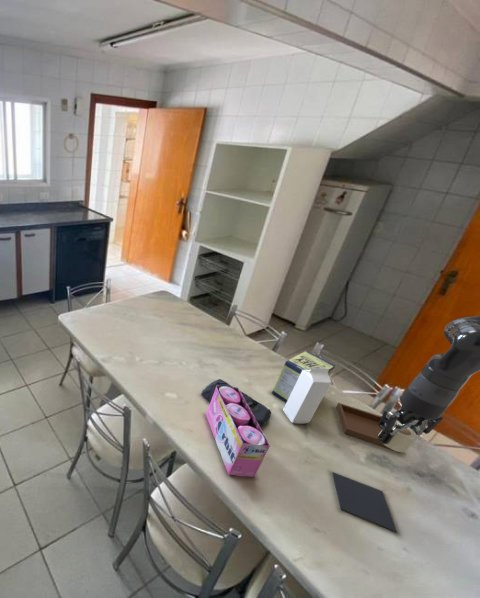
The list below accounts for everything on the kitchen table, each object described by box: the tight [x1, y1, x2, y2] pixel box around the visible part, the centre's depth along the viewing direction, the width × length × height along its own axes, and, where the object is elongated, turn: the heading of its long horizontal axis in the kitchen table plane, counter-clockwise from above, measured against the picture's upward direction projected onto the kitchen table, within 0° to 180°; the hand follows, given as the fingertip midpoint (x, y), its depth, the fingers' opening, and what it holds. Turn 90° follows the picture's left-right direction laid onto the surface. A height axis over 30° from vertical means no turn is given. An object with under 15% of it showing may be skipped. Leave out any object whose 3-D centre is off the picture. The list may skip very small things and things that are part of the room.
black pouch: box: [200, 378, 272, 427], centre depth 119 cm, size 15×22×5 cm
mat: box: [331, 472, 398, 533], centre depth 90 cm, size 12×12×1 cm
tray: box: [335, 402, 403, 454], centre depth 113 cm, size 16×14×3 cm
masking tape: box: [378, 421, 418, 453], centre depth 86 cm, size 6×6×5 cm
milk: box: [282, 368, 332, 425], centre depth 111 cm, size 6×6×22 cm
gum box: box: [205, 385, 271, 478], centre depth 102 cm, size 24×8×14 cm, turn 178°
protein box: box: [271, 350, 336, 404], centre depth 123 cm, size 10×16×16 cm
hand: (393, 441), depth 87 cm, fingers closed on masking tape, 6 cm apart
